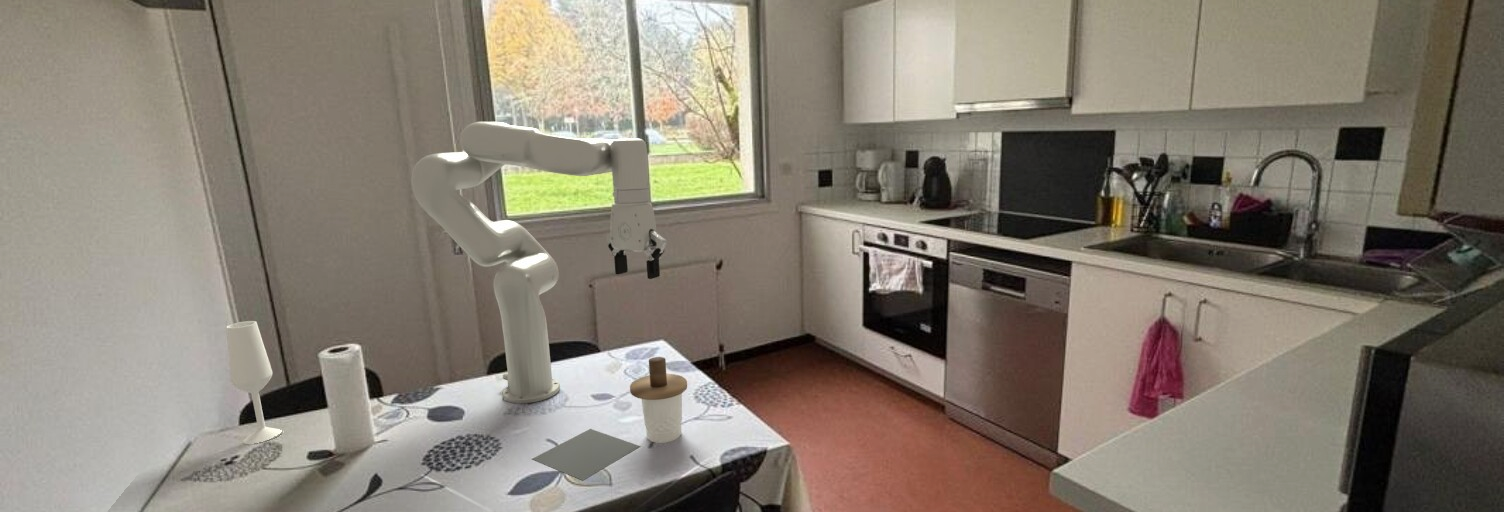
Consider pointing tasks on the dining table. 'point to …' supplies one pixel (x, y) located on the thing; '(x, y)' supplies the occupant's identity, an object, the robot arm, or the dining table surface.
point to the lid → (658, 382)
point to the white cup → (663, 418)
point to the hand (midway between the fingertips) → (637, 275)
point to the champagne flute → (250, 371)
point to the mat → (586, 454)
